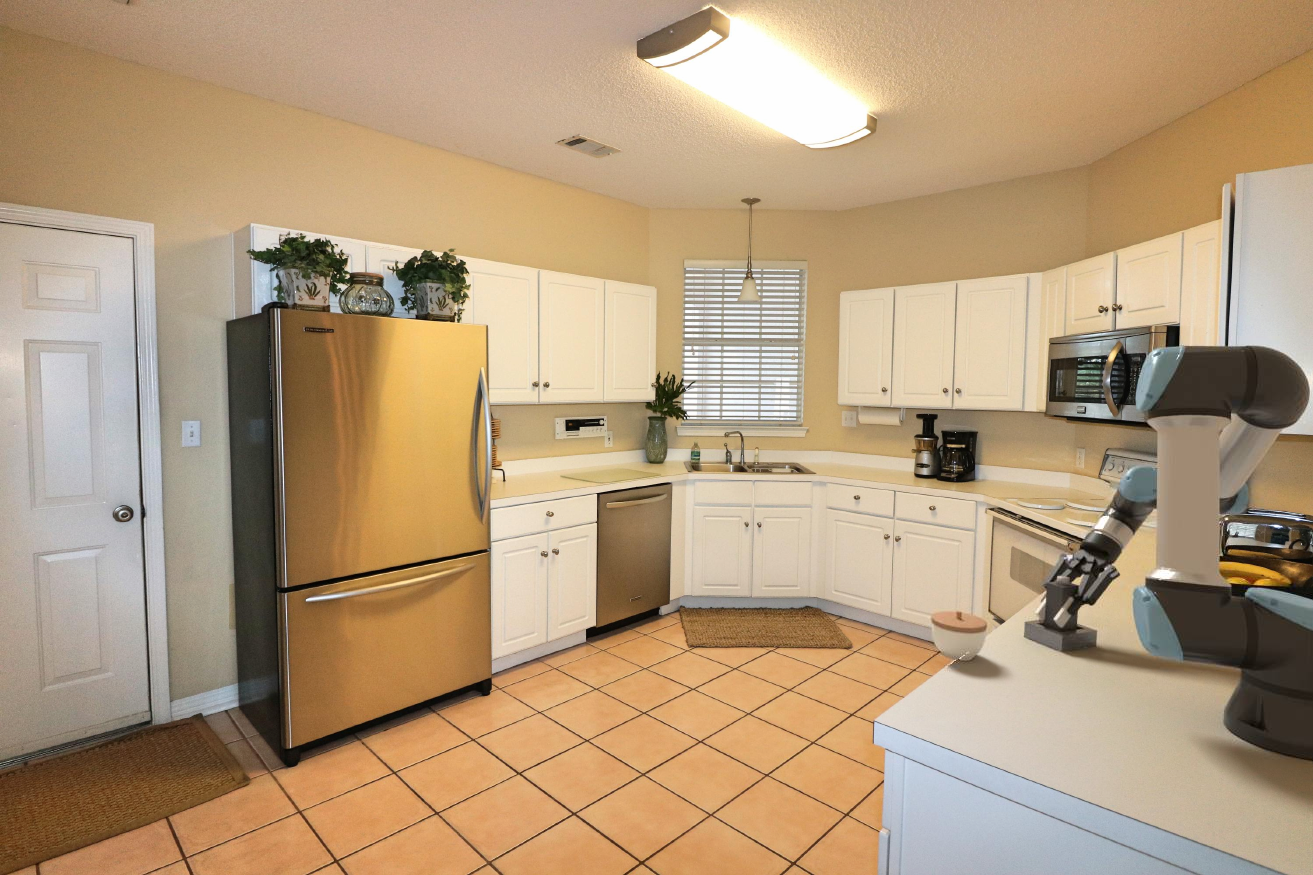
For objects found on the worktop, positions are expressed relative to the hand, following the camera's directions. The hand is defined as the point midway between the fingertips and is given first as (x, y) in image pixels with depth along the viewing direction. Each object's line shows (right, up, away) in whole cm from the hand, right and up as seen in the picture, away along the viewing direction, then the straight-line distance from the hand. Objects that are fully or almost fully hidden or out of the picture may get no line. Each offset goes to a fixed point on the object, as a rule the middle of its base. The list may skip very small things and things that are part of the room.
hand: (1048, 619), depth 153 cm
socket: (+3, -5, +2) cm, 7 cm away
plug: (+4, -3, +2) cm, 5 cm away
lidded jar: (-23, -6, -7) cm, 25 cm away
